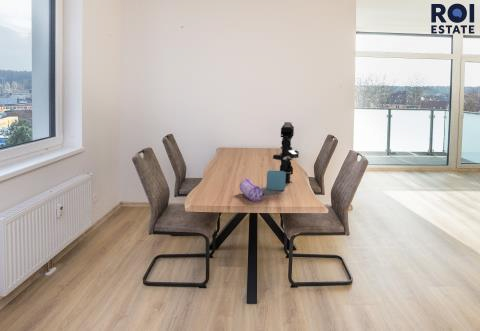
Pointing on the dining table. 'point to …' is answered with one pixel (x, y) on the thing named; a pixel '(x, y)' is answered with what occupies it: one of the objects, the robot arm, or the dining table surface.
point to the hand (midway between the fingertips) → (285, 169)
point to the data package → (276, 180)
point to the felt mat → (269, 191)
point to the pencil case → (251, 190)
